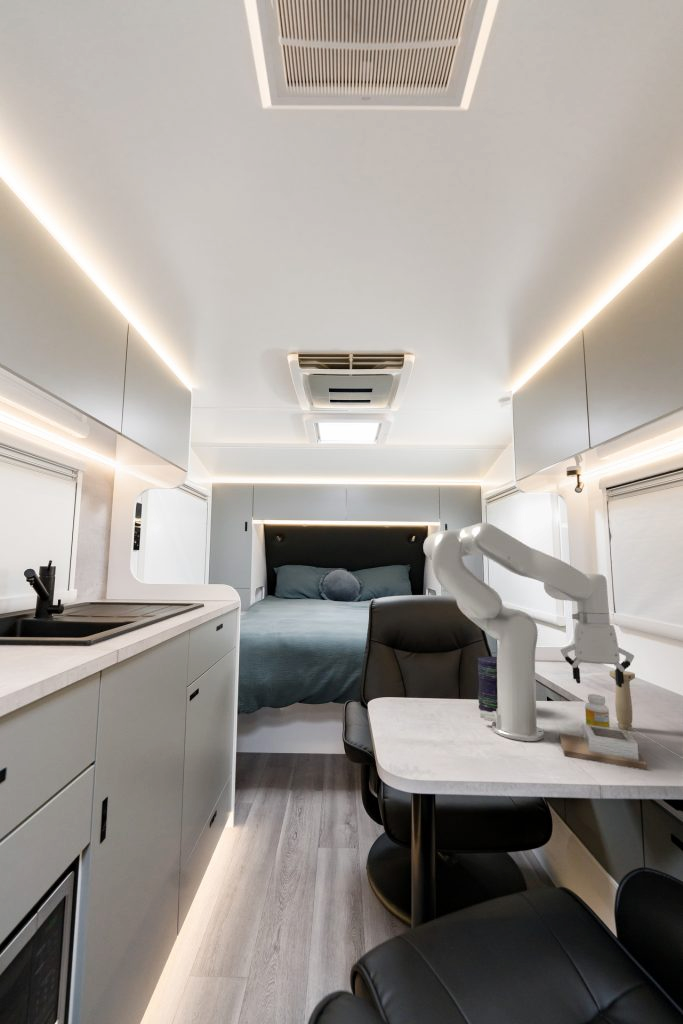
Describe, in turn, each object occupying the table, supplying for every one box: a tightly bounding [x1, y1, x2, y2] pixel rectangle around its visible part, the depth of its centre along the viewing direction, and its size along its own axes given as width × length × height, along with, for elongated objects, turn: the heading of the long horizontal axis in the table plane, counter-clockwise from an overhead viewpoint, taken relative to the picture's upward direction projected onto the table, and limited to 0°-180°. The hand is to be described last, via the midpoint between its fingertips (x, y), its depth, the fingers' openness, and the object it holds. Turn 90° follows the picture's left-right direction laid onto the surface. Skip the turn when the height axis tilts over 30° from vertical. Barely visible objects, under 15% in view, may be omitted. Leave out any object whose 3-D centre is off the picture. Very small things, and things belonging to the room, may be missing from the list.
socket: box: [581, 723, 639, 761], centre depth 100 cm, size 10×10×4 cm
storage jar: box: [477, 655, 498, 712], centre depth 132 cm, size 10×10×15 cm
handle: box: [609, 670, 636, 731], centre depth 119 cm, size 5×6×15 cm
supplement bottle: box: [584, 693, 611, 728], centre depth 113 cm, size 5×5×10 cm
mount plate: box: [558, 732, 648, 771], centre depth 101 cm, size 16×12×1 cm
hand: (598, 684), depth 115 cm, fingers open, 9 cm apart
